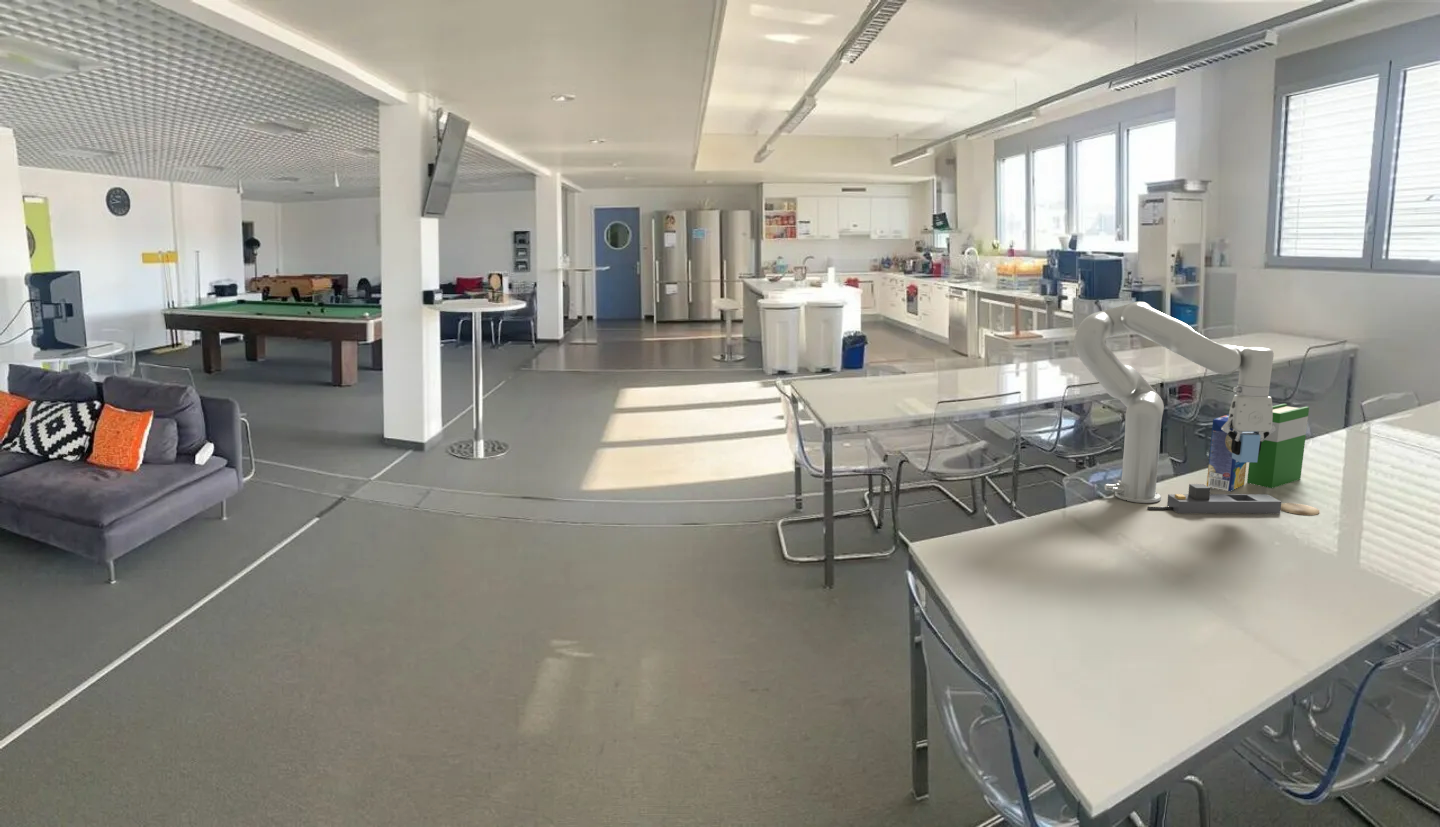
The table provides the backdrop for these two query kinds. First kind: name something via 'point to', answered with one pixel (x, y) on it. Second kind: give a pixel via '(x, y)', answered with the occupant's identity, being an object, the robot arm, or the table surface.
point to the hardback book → (1281, 449)
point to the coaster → (1299, 509)
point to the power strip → (1220, 502)
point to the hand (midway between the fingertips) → (1245, 453)
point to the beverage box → (1223, 460)
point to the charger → (1248, 447)
